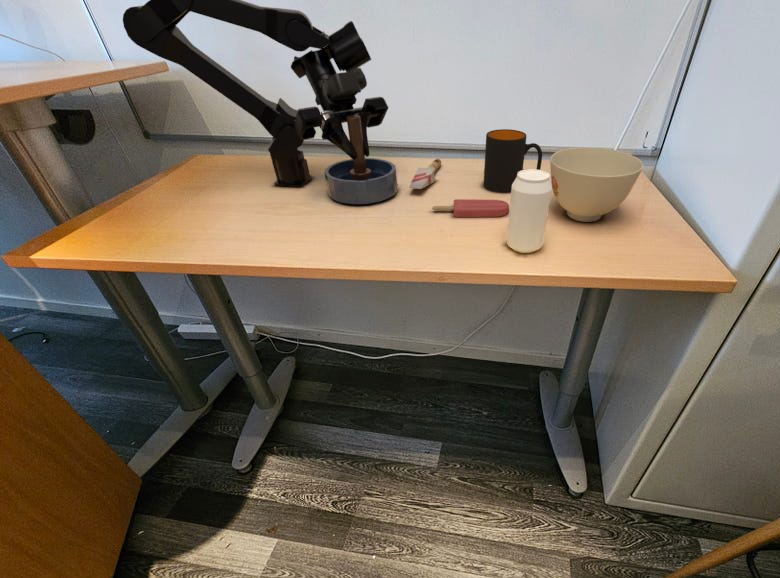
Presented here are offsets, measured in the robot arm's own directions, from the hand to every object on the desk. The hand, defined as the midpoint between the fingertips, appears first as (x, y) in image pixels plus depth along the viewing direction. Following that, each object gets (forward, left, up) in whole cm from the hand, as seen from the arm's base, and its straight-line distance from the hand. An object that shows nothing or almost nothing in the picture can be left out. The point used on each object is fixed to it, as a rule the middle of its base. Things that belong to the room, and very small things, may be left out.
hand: (361, 156), depth 83 cm
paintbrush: (+11, +11, -8) cm, 17 cm away
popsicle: (+23, -5, -8) cm, 25 cm away
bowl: (+45, -3, -8) cm, 46 cm away
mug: (+30, +10, -8) cm, 33 cm away
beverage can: (+34, -18, -8) cm, 39 cm away
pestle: (-1, +1, -7) cm, 7 cm away
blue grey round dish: (-1, +1, -8) cm, 8 cm away
